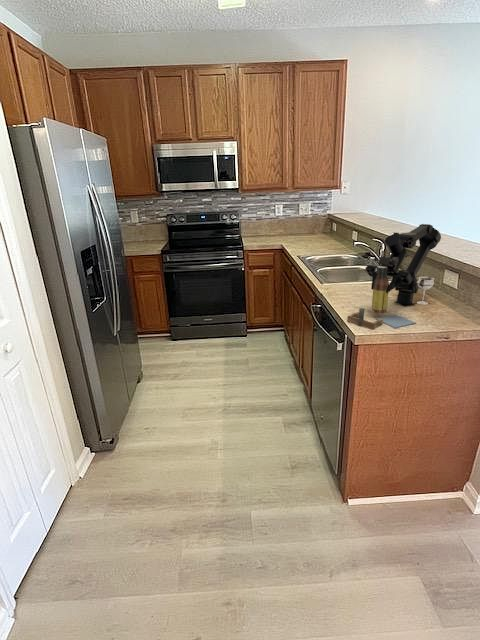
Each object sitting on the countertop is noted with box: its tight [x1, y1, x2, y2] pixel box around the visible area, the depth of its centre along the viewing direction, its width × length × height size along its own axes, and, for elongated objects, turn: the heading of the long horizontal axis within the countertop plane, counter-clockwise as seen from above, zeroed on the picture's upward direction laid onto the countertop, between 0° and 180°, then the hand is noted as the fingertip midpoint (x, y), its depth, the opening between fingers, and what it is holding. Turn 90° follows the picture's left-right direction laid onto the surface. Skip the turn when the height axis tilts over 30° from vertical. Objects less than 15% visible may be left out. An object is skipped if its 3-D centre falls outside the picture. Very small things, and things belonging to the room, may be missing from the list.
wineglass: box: [416, 275, 435, 306], centre depth 171 cm, size 7×7×12 cm
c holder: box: [346, 308, 384, 330], centre depth 151 cm, size 8×12×7 cm, turn 41°
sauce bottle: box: [371, 264, 390, 314], centre depth 154 cm, size 6×6×20 cm
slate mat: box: [375, 313, 417, 329], centre depth 153 cm, size 11×11×1 cm
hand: (379, 290), depth 153 cm, fingers closed on sauce bottle, 6 cm apart
